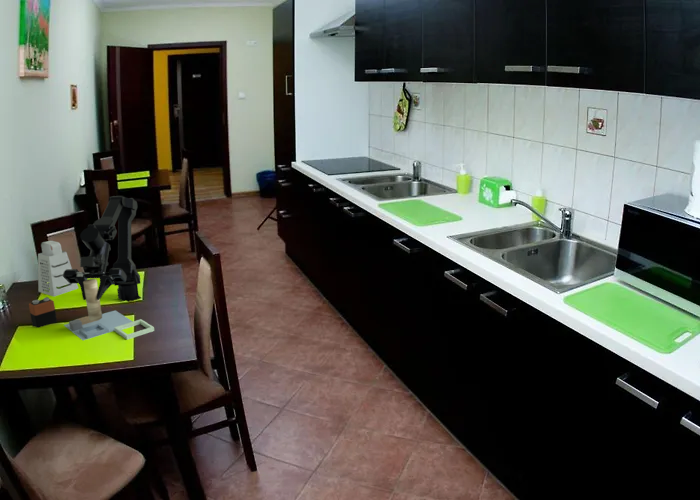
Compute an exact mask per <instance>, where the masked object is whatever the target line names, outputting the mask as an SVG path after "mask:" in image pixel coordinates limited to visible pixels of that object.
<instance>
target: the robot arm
mask: <svg viewBox="0 0 700 500" xmlns="http://www.w3.org/2000/svg"><path fill="white" fill-rule="evenodd" d="M137 210H138V202H137V200H136V199H134V198H133V197H129V198H128V197H126V196H123V195H116V196H115V195H113V196H109V197H108V203H107V206H106V208H105V210H104V211H103V214H102V216H101V218H99V219H97V220H95V221H94V222H93V224H88V226H87V228H84V229H83V230H82V231H81V232H80V234H79V236H80V237H79V238H80V240H81V241H82V242H83V243H84V245H85V246H86V247H87V249H89V250H90V253H89V255H87V256H80V263H79V264H80V266H79V267H80V268H83V271H85V272H83V271H80V270H78V269H77V268H72V269H66V270H65V271H64V273H63V277H64V278H65V279H66V280H67V281H68V282H69V283H71V284H73V283H77V284H79V286H80V289H81V296H82V300H83V301H86V296H85V290H84V283H83V282H84V281H85V280H89V279H99V286H98V293H97V300H99V299H100V300H101V298H102V296H103V295H104V294H105V293H106V291H108V289H110V287H111V286H112V285H114V286H117V287H118V288H116V289H117V296H118V297H117V298H118V300H120V301H121V302H131V301H136V300H139V299H141V298H142V297H141V296H140V294H139V287H138V285H139V284H141V275H140V273H139V272H138V271H137V266H136V264H135V263H134V261H133V259H132V221H133V220H134V219H135V217H136V215H137ZM117 221H118V222H117ZM116 223H118V225H117V229H118V230H117V229H116V226H115V225H116ZM116 236H118V237H117V243H118V244H117V260H116V261H115V262H114V263H113V264H112V268H111V267H110V268H109V270H108V271H106V270H107V267H108V266H109V262H108V259H109V255H110V254H109V253H110V251H111V250H112V249H111V244H110V243H109V242H108V241H113V240H114V239H115V237H116Z"/></svg>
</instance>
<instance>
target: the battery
mask: <svg viewBox="0 0 700 500" xmlns="http://www.w3.org/2000/svg"><path fill="white" fill-rule="evenodd" d="M28 307H29V313H30V319H31V324H32V327H34V328H42V327H45V326H48V325H51V324H55V323H57V322H58V320H57V319H58V318H57V313H56V308H55V307H56V306H55V303H54V300H53V299H51V298H49V297H44V298H43V299H40V300H39V299H34V300H32V302H30V303H28Z"/></svg>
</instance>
